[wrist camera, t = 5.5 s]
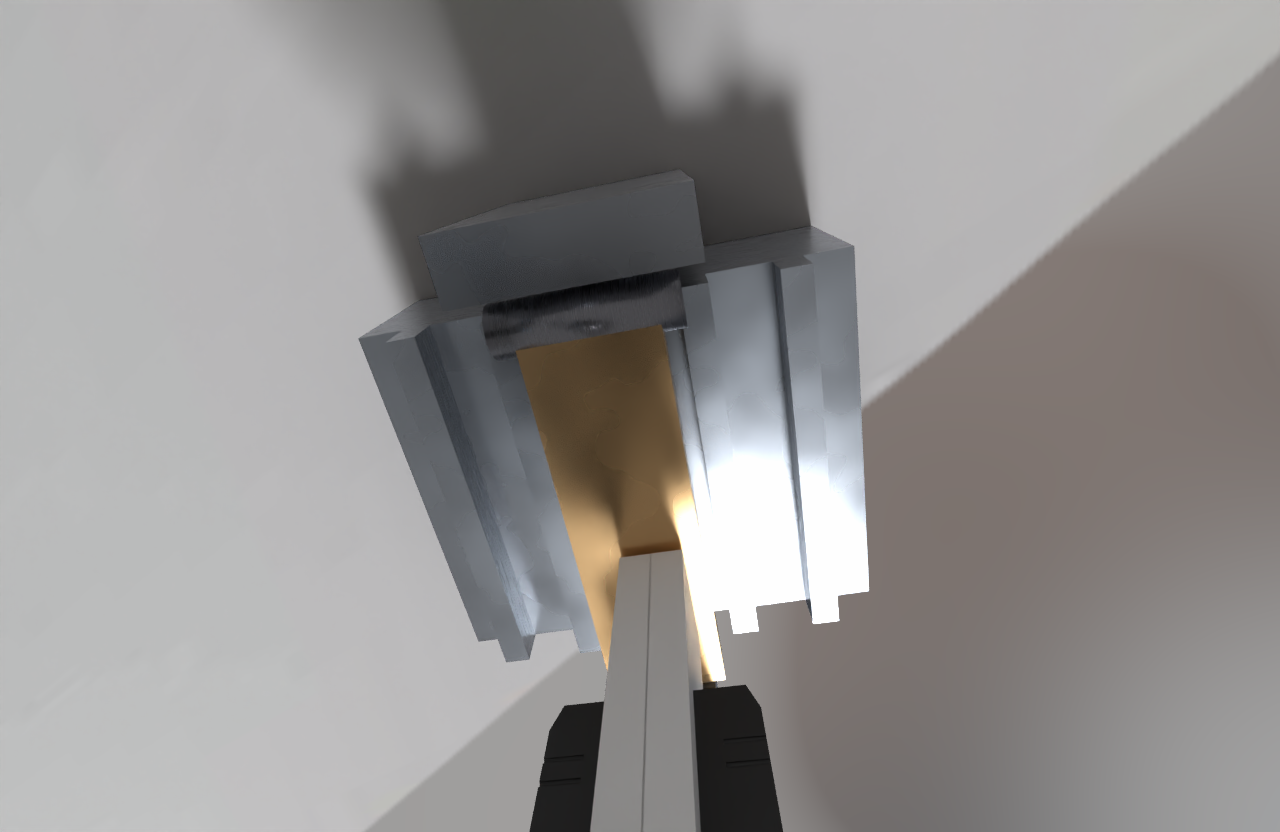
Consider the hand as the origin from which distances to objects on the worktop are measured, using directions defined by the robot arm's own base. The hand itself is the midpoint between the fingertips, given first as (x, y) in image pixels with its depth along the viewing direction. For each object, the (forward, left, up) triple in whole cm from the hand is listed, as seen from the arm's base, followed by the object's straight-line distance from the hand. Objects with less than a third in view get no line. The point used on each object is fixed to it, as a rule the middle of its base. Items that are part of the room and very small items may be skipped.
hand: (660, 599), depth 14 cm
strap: (0, +2, -1) cm, 3 cm away
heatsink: (0, +2, -7) cm, 7 cm away
